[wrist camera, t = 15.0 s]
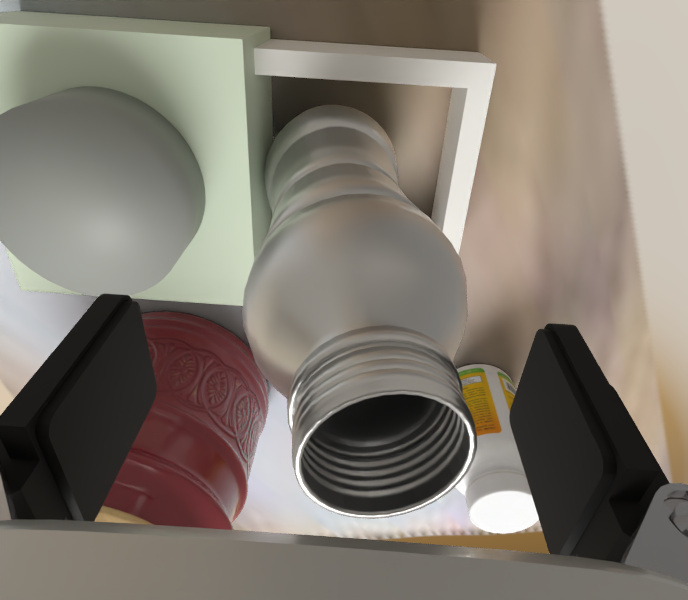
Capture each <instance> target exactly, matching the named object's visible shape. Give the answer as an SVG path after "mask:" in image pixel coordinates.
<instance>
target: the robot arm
mask: <svg viewBox="0 0 688 600" xmlns="http://www.w3.org/2000/svg"><path fill="white" fill-rule="evenodd" d="M156 393H157V384H156V379H155V375H154V370H153V366H152V361H151V357H150V352H149V347H148V343H147V338H146V334H145V329H144V325H143V320H142V316H141V311H140V307H139V304H138V303H137V302H133V301H132V299H131V297H130V296H128V295H120V294H105V293H104V294H101V295H100V296H99V297H98V298H97V299H96V301H95V302H94V303H93V304H92V305H91V307H90V308H89V309H88V310H87V311H86V313H85V314H84V315H83V316H82V318H81V319H80V320H79V321H78V322H77V324H76V325H75V326H74V327H73V328H72V330H71V331H70V332H69V333H68V335H67V336H66V337H65V338H64V339H63V341H62V342H61V343H60V344H59V345H58V347H57V348H56V349H55V350H54V352H53V353H52V354H51V355H50V356H49V357H48V358H47V360H46V361H45V362H44V363H43V365H42V366H41V367H40V368H39V369H38V371H37V372H36V373H35V374H34V375H33V377H32V378H31V379H30V380H29V382H28V383H27V384H26V385H25V386H24V388H23V389H22V390H21V391H20V392H19V394H18V395H17V396H16V397H15V399H14V400H13V401H12V402H11V403H10V405H9V406H8V407H7V408H6V410H5V411H4V412H3V413H2V414H1V415H0V600H688V485H686V484H682V483H669V481H668V480H667V478H666V476H665V474H664V473H663V471H662V469H661V468H660V466H659V464H658V462H657V461H656V459H655V457H654V456H653V454H652V452H651V450H650V449H649V447H648V445H647V444H646V442H645V440H644V438H643V437H642V435H641V433H640V431H639V430H638V428H637V426H636V425H635V423H634V421H633V419H632V418H631V416H630V414H629V413H628V411H627V409H626V407H625V406H624V404H623V402H622V400H621V399H620V397H619V395H618V394H617V392H616V390H615V389H614V388H613V387H612V386H611V385H610V384H609V383H608V381H607V379H606V377H605V376H604V374H603V372H602V370H601V369H600V367H599V365H598V363H597V362H596V360H595V358H594V357H593V355H592V353H591V351H590V350H589V348H588V346H587V344H586V343H585V341H584V339H583V337H582V336H581V334H580V332H579V330H578V329H577V327H576V326H574V325H565V324H547V325H546V327H545V328H544V329H539V330H538V331H537V333H536V335H535V338H534V341H533V344H532V347H531V350H530V353H529V356H528V359H527V362H526V365H525V368H524V371H523V373H522V376H521V379H520V382H519V385H518V388H517V391H516V394H515V397H514V400H513V403H512V406H511V409H510V414H509V420H510V426H511V429H512V432H513V436H514V439H515V442H516V445H517V449H518V452H519V455H520V458H521V462H522V465H523V468H524V471H525V475H526V478H527V481H528V485H529V488H530V491H531V494H532V498H533V501H534V504H535V507H536V511H537V514H538V517H539V520H540V524H541V527H542V530H543V533H544V536H545V540H546V543H547V547H548V550H549V552H550V554H542V553H532V552H522V551H511V550H499V549H487V548H474V547H461V546H447V545H434V544H421V543H408V542H394V541H382V540H368V539H354V538H340V537H326V536H312V535H297V534H283V533H269V532H255V531H240V530H225V529H209V528H194V527H179V526H164V525H148V524H133V523H114V522H94V521H95V519H96V517H97V515H98V513H99V511H100V509H101V507H102V505H103V503H104V501H105V499H106V497H107V495H108V493H109V491H110V489H111V487H112V485H113V483H114V481H115V479H116V477H117V475H118V473H119V471H120V469H121V467H122V465H123V463H124V461H125V459H126V457H127V455H128V453H129V451H130V449H131V447H132V445H133V443H134V441H135V439H136V437H137V435H138V433H139V431H140V429H141V427H142V425H143V423H144V421H145V419H146V417H147V415H148V413H149V411H150V409H151V407H152V405H153V403H154V400H155V398H156Z"/></svg>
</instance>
